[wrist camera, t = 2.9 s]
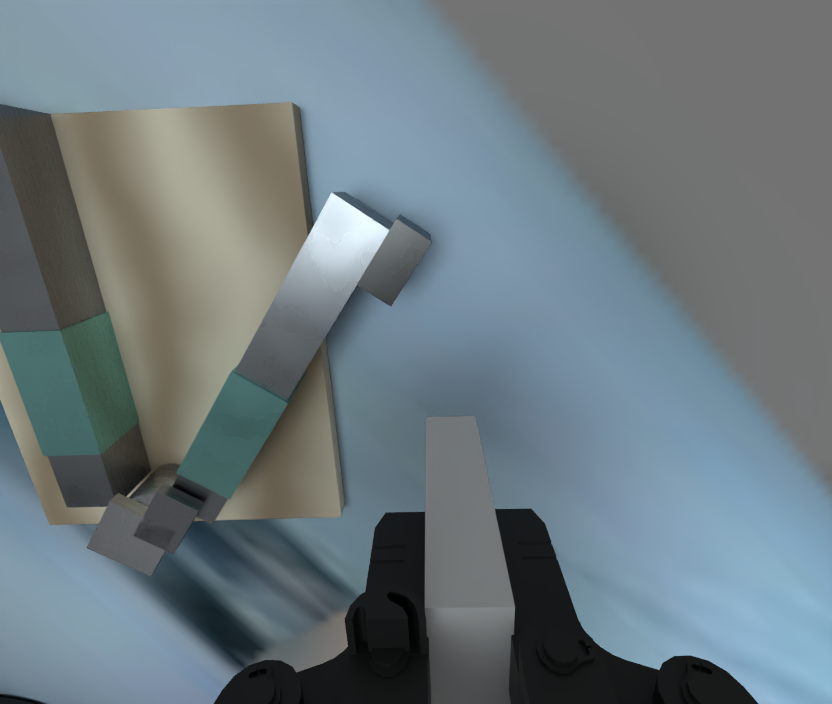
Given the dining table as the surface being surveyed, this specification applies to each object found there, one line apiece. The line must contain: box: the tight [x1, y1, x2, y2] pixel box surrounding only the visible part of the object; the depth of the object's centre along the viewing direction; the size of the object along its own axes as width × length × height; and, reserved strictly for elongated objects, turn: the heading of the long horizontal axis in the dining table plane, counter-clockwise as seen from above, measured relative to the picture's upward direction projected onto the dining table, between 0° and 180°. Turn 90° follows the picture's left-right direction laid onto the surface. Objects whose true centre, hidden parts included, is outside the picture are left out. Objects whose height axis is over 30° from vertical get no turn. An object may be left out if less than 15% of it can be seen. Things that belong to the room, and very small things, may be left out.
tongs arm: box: [87, 192, 432, 576], centre depth 21 cm, size 6×21×4 cm, turn 147°
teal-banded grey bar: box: [0, 104, 180, 508], centre depth 21 cm, size 7×20×3 cm, turn 2°
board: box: [0, 103, 345, 525], centre depth 23 cm, size 17×21×1 cm
